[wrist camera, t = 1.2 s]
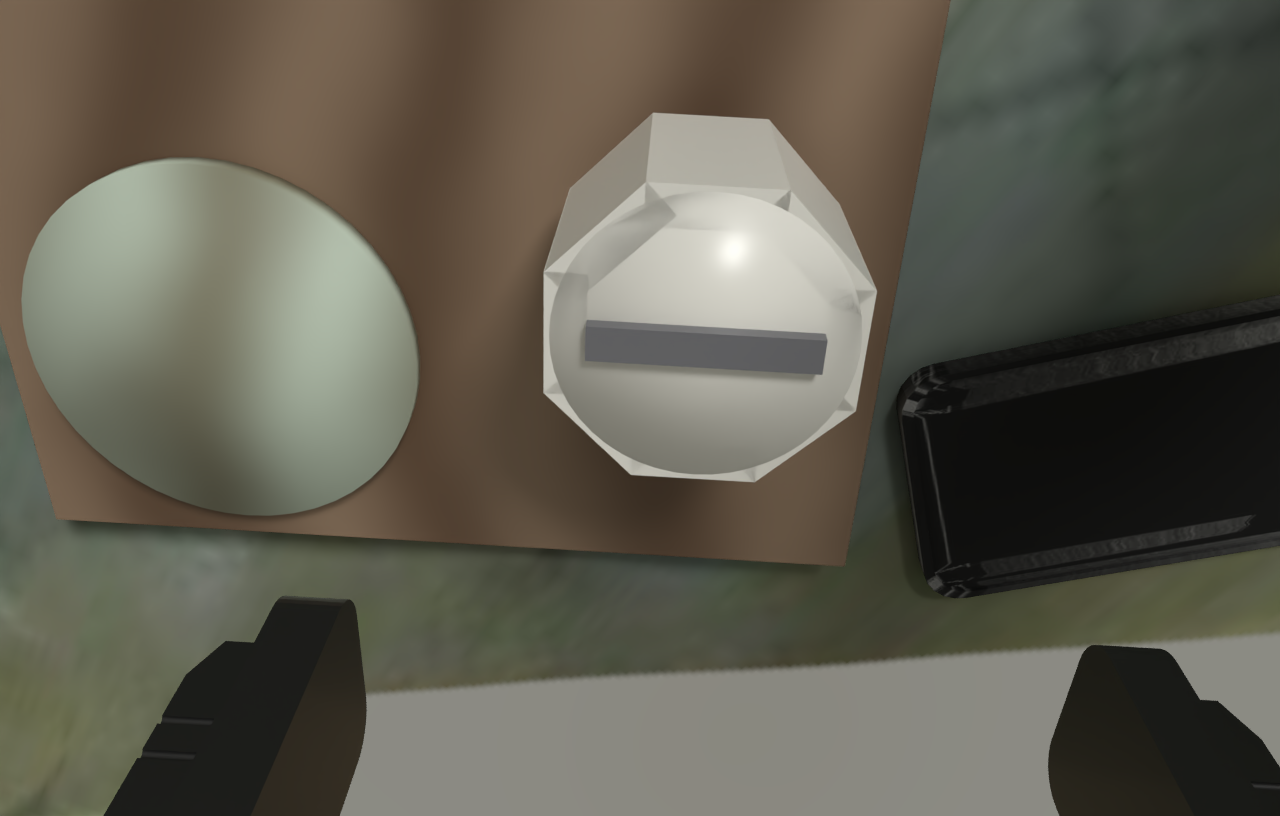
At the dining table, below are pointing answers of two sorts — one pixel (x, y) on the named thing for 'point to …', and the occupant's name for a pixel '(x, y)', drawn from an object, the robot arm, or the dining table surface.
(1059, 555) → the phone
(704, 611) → the dining table surface
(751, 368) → the cap
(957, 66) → the dining table surface
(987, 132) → the dining table surface
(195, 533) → the dining table surface
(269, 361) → the board
